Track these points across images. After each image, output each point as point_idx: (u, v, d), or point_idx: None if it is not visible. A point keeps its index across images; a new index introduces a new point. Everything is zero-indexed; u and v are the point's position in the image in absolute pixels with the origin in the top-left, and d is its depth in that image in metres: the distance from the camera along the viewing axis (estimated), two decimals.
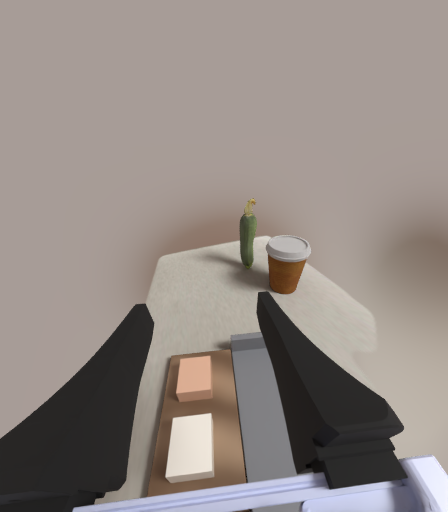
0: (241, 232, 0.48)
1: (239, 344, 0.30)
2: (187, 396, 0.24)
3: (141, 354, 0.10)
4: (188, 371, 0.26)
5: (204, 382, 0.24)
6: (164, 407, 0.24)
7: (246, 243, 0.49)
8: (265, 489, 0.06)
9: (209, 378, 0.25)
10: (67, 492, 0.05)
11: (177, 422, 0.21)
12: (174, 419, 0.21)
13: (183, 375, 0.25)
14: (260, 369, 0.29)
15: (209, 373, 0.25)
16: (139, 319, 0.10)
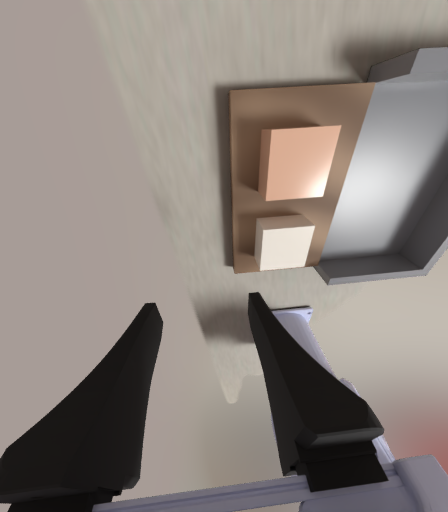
0: None
1: (411, 77, 0.12)
2: None
3: (152, 353, 0.10)
4: (288, 161, 0.12)
5: (314, 184, 0.14)
6: (235, 197, 0.16)
7: None
8: (265, 489, 0.06)
9: (325, 178, 0.13)
10: (89, 489, 0.05)
11: (269, 234, 0.16)
12: (265, 231, 0.15)
13: (278, 171, 0.13)
14: (401, 137, 0.15)
15: (327, 168, 0.13)
16: (150, 318, 0.10)
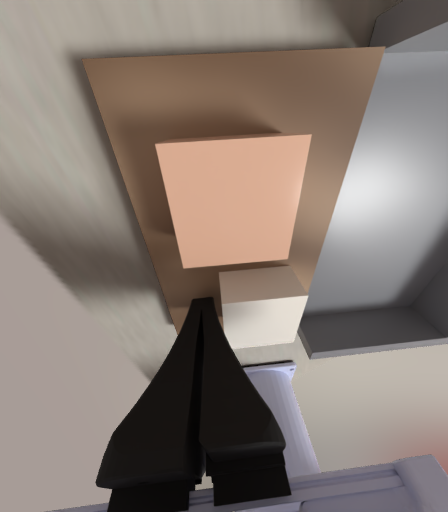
0: None
1: None
2: None
3: (203, 347, 0.10)
4: (208, 205, 0.06)
5: (269, 242, 0.07)
6: (152, 247, 0.10)
7: None
8: (265, 489, 0.06)
9: (289, 232, 0.07)
10: (191, 475, 0.05)
11: (232, 308, 0.09)
12: (226, 306, 0.09)
13: (193, 222, 0.07)
14: (425, 151, 0.09)
15: (291, 216, 0.07)
16: (202, 313, 0.10)
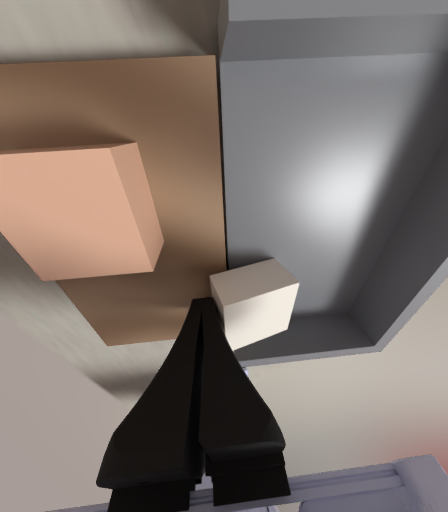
0: None
1: (271, 40, 0.05)
2: None
3: (203, 347, 0.10)
4: (34, 219, 0.06)
5: (123, 254, 0.07)
6: None
7: None
8: (265, 489, 0.06)
9: (139, 245, 0.07)
10: (192, 475, 0.05)
11: (234, 309, 0.09)
12: (227, 307, 0.09)
13: (27, 236, 0.06)
14: (310, 160, 0.09)
15: (134, 229, 0.07)
16: (202, 313, 0.10)
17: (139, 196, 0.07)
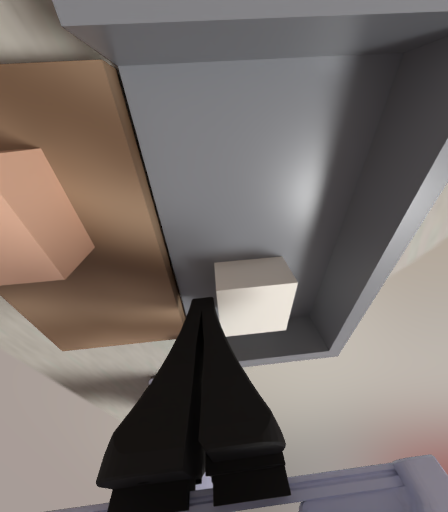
0: None
1: (141, 45, 0.05)
2: None
3: (203, 347, 0.10)
4: None
5: (27, 263, 0.07)
6: None
7: None
8: (265, 489, 0.06)
9: (41, 254, 0.07)
10: (192, 475, 0.05)
11: (226, 295, 0.10)
12: (220, 292, 0.10)
13: None
14: (235, 164, 0.09)
15: (30, 237, 0.06)
16: (202, 313, 0.10)
17: (41, 203, 0.07)
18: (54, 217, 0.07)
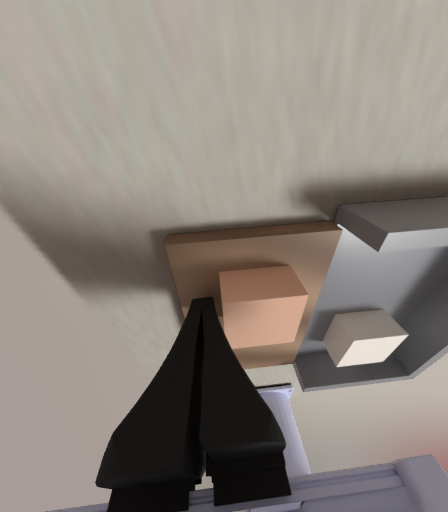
0: None
1: None
2: None
3: (203, 347, 0.10)
4: (247, 323, 0.10)
5: (282, 335, 0.11)
6: None
7: None
8: (265, 489, 0.06)
9: (295, 331, 0.11)
10: (191, 475, 0.05)
11: (358, 343, 0.15)
12: (355, 341, 0.14)
13: (236, 330, 0.11)
14: (379, 262, 0.13)
15: (296, 323, 0.11)
16: (201, 313, 0.10)
17: None
18: None
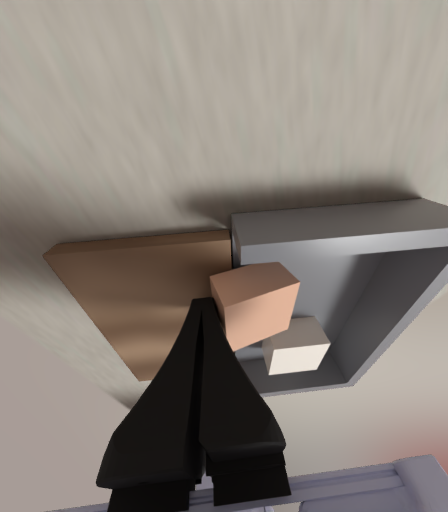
0: None
1: None
2: None
3: (203, 347, 0.10)
4: (247, 321, 0.10)
5: (278, 325, 0.12)
6: (105, 331, 0.14)
7: None
8: (265, 489, 0.06)
9: (289, 318, 0.12)
10: (192, 475, 0.05)
11: (280, 351, 0.14)
12: (276, 350, 0.14)
13: (238, 331, 0.10)
14: (292, 270, 0.13)
15: (290, 311, 0.11)
16: (202, 313, 0.10)
17: None
18: None
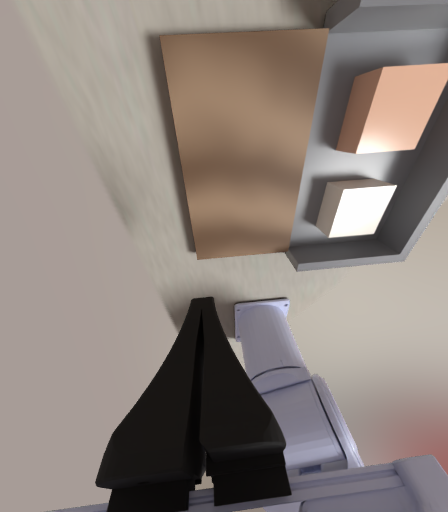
0: None
1: (367, 18, 0.10)
2: None
3: (203, 347, 0.10)
4: (390, 106, 0.12)
5: (409, 135, 0.13)
6: (185, 170, 0.15)
7: None
8: (265, 489, 0.06)
9: (423, 127, 0.13)
10: (191, 475, 0.05)
11: (348, 194, 0.15)
12: (345, 191, 0.15)
13: (377, 118, 0.12)
14: None
15: (428, 115, 0.12)
16: (201, 313, 0.10)
17: None
18: None
